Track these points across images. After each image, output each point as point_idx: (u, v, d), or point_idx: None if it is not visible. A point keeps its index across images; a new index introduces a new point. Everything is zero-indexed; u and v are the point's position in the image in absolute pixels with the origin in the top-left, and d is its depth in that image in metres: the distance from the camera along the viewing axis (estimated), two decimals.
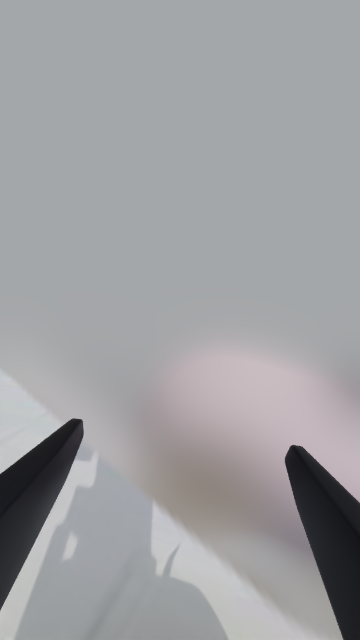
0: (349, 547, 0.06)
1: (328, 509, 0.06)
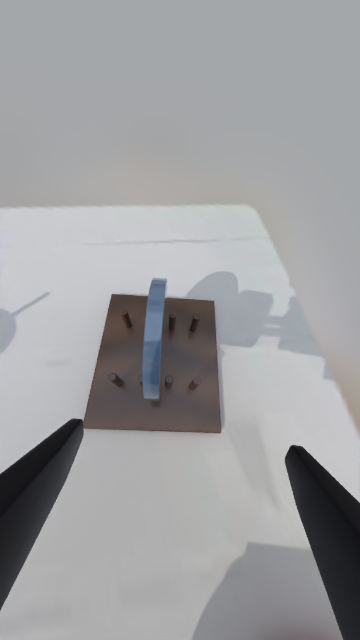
0: (349, 546, 0.06)
1: (328, 509, 0.06)
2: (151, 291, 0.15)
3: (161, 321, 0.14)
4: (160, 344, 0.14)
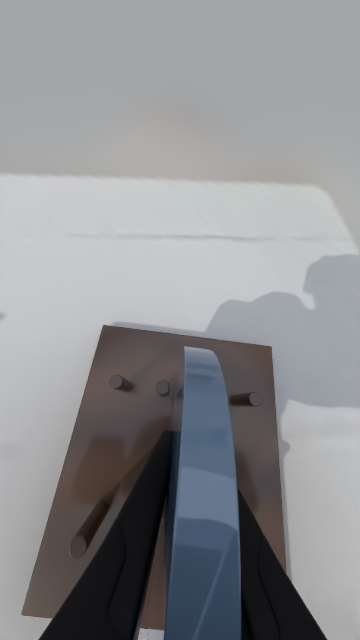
0: None
1: None
2: (186, 483, 0.04)
3: None
4: None
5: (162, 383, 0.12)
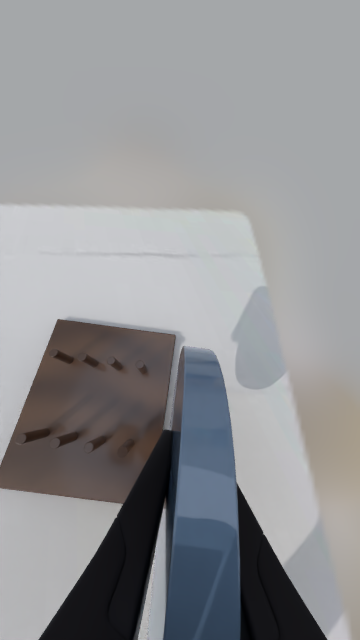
0: None
1: None
2: (186, 482, 0.04)
3: None
4: None
5: (82, 354, 0.19)
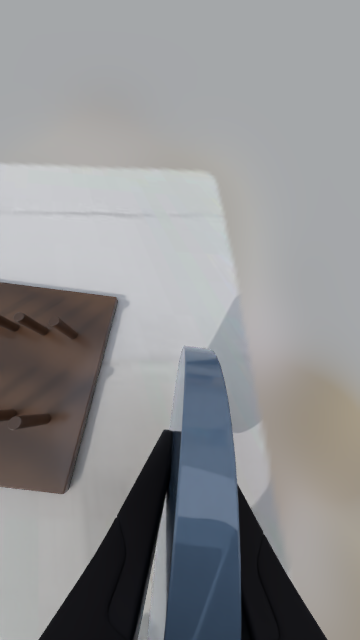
0: None
1: None
2: (187, 482, 0.04)
3: None
4: None
5: None
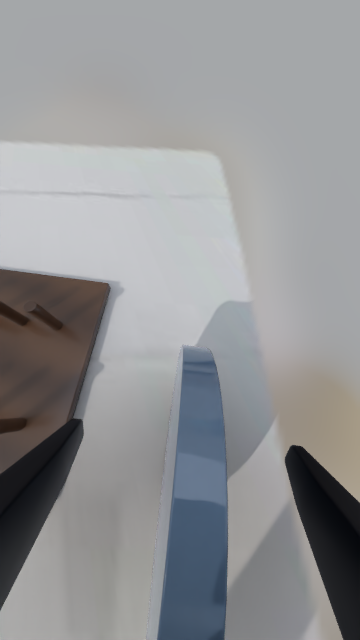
0: (349, 547, 0.06)
1: (328, 509, 0.06)
2: (184, 442, 0.05)
3: (222, 611, 0.04)
4: None
5: None
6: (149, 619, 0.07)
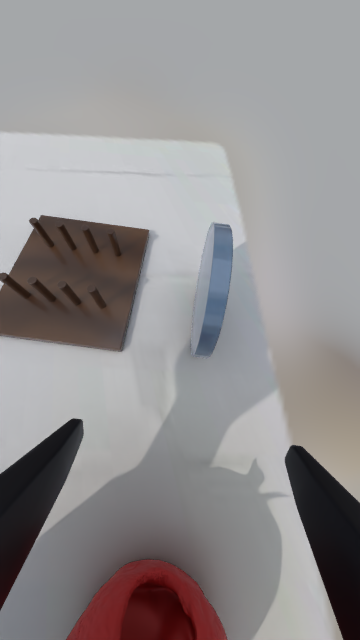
0: (349, 547, 0.06)
1: (328, 509, 0.06)
2: (216, 225, 0.14)
3: (231, 248, 0.12)
4: (230, 272, 0.12)
5: (59, 222, 0.21)
6: (197, 331, 0.15)
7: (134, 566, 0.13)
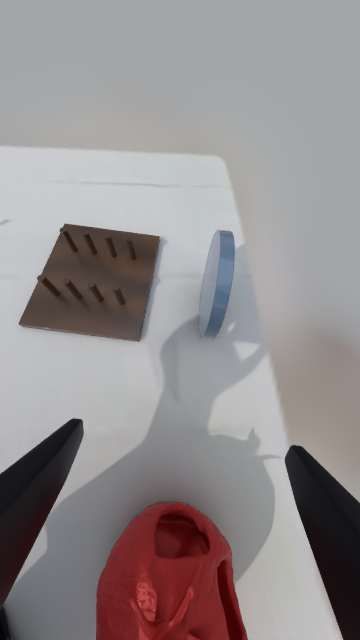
0: (349, 547, 0.06)
1: (328, 509, 0.06)
2: (220, 230, 0.18)
3: (233, 245, 0.16)
4: (233, 262, 0.16)
5: (85, 231, 0.25)
6: (207, 313, 0.18)
7: (158, 504, 0.16)
